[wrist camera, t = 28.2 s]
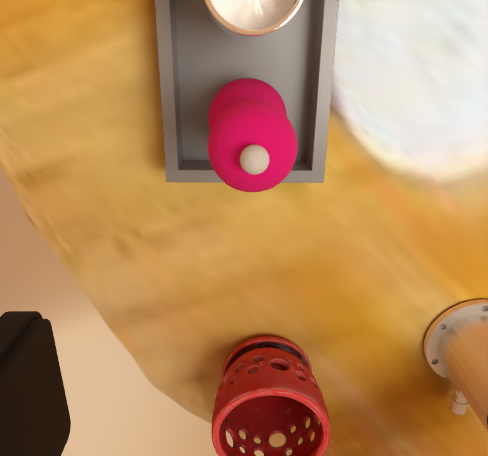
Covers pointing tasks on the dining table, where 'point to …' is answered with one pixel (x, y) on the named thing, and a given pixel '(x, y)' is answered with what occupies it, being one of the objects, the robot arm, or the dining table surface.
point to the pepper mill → (250, 136)
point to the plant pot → (269, 401)
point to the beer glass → (252, 16)
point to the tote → (243, 66)
